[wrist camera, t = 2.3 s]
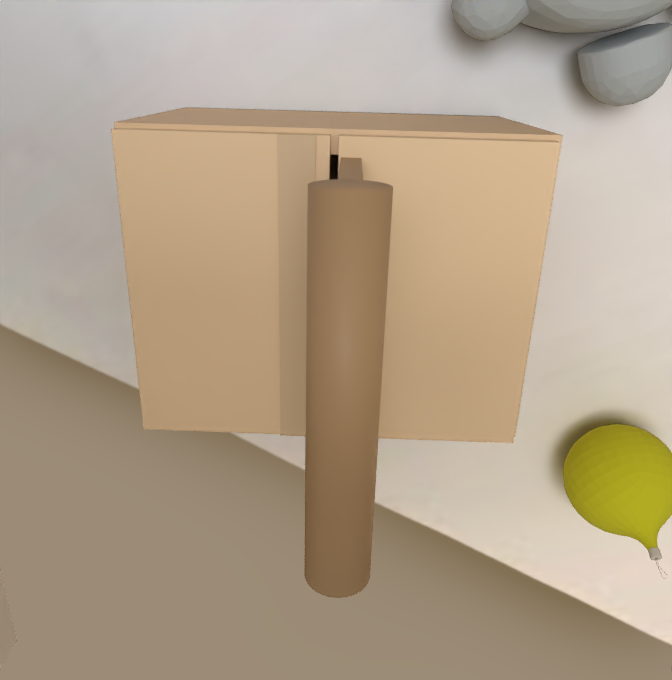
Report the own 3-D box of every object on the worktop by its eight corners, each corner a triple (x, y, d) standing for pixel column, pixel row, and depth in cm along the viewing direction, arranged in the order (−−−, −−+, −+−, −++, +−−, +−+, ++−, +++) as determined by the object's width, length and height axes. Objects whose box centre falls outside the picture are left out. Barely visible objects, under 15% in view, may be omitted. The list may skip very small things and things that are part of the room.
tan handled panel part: (554, 140, 25) (692, 186, 15) (509, 433, 30) (588, 616, 20) (324, 133, 25) (304, 175, 15) (319, 427, 31) (301, 605, 20)
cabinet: (200, 331, 42) (140, 433, 30) (186, 107, 36) (105, 124, 25) (472, 340, 42) (519, 447, 30) (498, 116, 36) (569, 137, 24)
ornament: (593, 506, 47) (652, 613, 37) (529, 451, 45) (574, 549, 36) (673, 446, 44) (756, 543, 35) (609, 385, 43) (679, 471, 34)
